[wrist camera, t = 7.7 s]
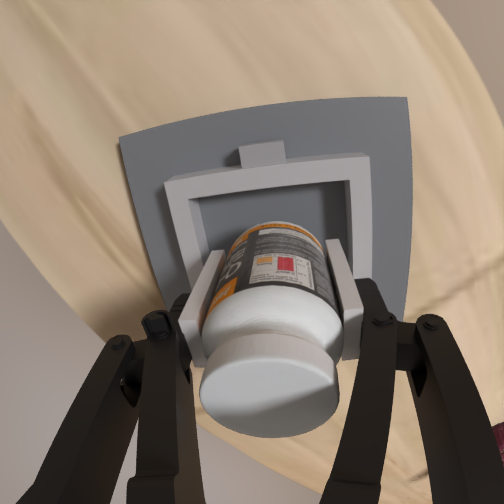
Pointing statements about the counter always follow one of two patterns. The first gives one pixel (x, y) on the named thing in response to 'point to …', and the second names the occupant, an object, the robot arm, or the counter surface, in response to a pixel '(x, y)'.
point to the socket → (278, 186)
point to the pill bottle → (273, 335)
